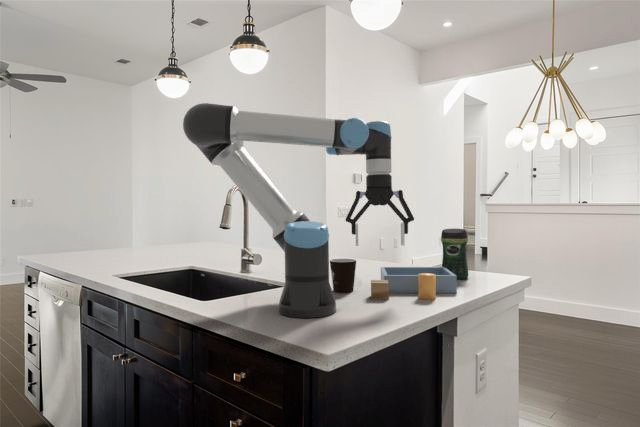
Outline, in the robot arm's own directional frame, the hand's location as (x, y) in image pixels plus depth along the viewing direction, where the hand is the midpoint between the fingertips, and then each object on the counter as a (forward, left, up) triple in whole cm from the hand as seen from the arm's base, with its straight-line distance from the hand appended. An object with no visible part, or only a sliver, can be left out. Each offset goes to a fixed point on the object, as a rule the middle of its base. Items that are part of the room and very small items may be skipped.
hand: (379, 245), depth 129 cm
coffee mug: (+11, +11, -16) cm, 22 cm away
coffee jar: (+35, -30, -16) cm, 49 cm away
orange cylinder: (0, -14, -16) cm, 21 cm away
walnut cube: (0, 0, -16) cm, 16 cm away
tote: (+16, -13, -16) cm, 26 cm away
